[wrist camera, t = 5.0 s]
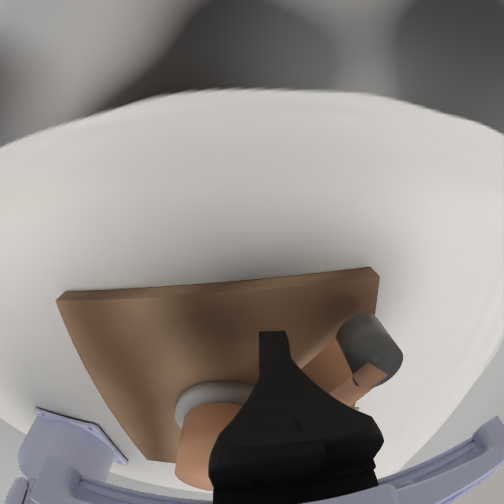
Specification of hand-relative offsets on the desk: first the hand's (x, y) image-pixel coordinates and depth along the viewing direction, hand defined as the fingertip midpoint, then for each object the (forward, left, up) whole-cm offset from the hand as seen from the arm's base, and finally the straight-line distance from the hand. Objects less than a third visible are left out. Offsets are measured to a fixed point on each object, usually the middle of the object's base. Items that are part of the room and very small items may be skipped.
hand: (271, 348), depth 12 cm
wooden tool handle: (0, -4, 0) cm, 4 cm away
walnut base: (-3, -7, -3) cm, 8 cm away
